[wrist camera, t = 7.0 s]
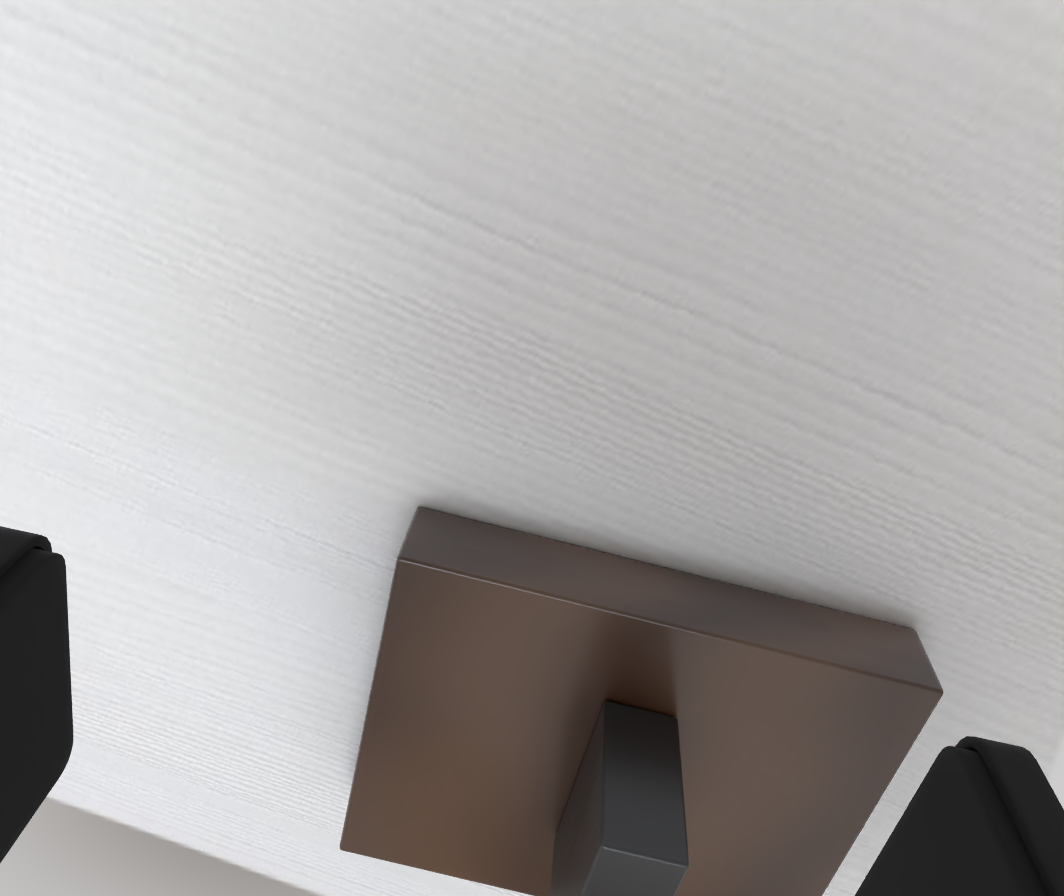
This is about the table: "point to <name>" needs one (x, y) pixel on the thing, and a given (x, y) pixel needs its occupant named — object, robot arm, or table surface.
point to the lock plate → (629, 679)
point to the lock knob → (625, 811)
